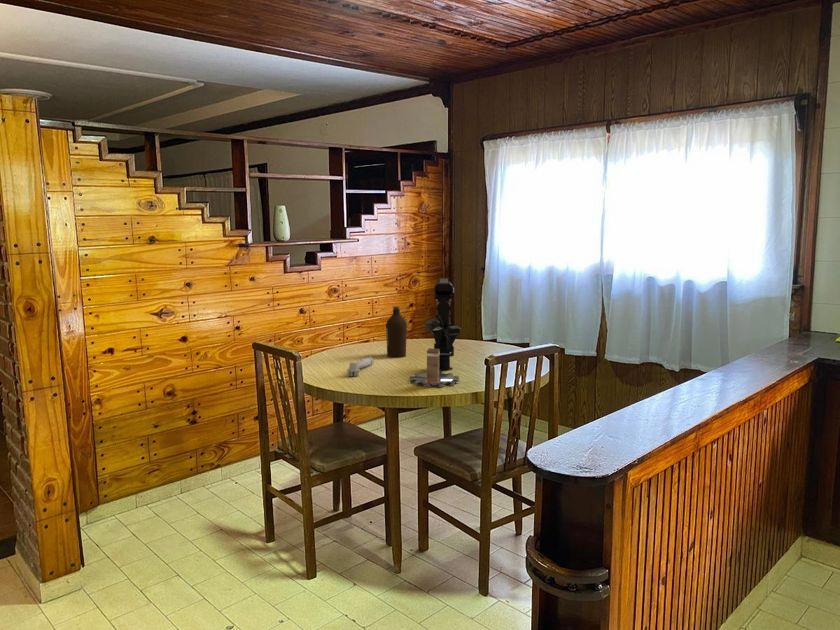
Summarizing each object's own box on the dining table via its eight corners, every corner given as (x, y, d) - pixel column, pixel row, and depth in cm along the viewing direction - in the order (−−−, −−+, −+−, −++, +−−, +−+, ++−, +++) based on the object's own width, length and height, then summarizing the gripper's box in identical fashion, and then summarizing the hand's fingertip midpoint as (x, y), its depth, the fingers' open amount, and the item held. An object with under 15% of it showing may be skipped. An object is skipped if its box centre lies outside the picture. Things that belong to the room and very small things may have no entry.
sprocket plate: (400, 378, 268) (400, 373, 268) (442, 372, 279) (442, 367, 278) (425, 390, 250) (425, 384, 250) (468, 383, 260) (468, 378, 260)
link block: (428, 378, 261) (428, 348, 259) (439, 379, 260) (439, 348, 258) (426, 381, 257) (426, 350, 255) (437, 381, 256) (437, 351, 254)
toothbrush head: (375, 356, 294) (357, 361, 270) (374, 371, 294) (356, 376, 270) (364, 356, 295) (345, 360, 271) (364, 370, 295) (345, 375, 271)
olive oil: (408, 353, 318) (408, 305, 314) (405, 358, 307) (405, 308, 304) (388, 353, 319) (387, 304, 315) (384, 357, 309) (383, 307, 305)
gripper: (416, 310, 271) (416, 345, 273) (438, 315, 255) (438, 353, 257) (438, 309, 277) (438, 343, 279) (461, 313, 261) (461, 350, 263)
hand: (443, 347), depth 269 cm, fingers open, 9 cm apart
